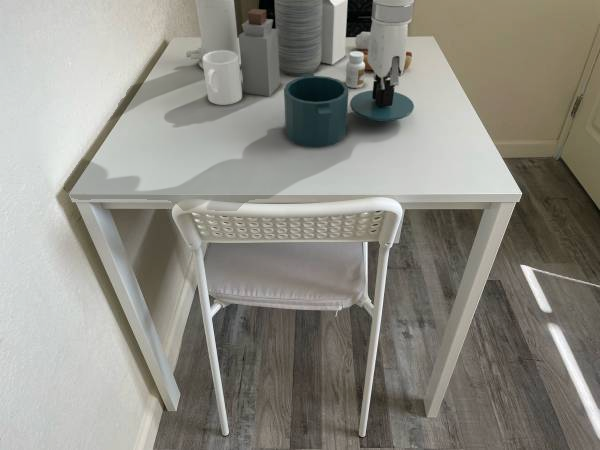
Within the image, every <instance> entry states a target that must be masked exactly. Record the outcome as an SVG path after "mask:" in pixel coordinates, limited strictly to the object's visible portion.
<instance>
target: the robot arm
mask: <svg viewBox="0 0 600 450" xmlns="http://www.w3.org/2000/svg"><path fill="white" fill-rule="evenodd" d="M194 1H195V6H196V14H197V20H198V27H199V34H200V40H201V45H200V47H197V48H196V49H194V48H193V49H191V48H190V49H185V54H186V58H190V59H191V60H198V65H199V67H200V68H201V69H202V70H204V68H203V61H202V58H203V56H204V55H205V54H207V53H209V52H213V51H218V50H227V51H232V52H235V53H236V54H237V55H238V56H239V66H240V68H242V67H241V57H240V47H239V37H238V30H237V19H236V8H235V0H194ZM414 3H415V0H372V10H371V21H372V22H371V26H370V31H369V32H370V39H369V47H368V49H367V51H368V55H367V61H368V63H369V65H370V66H371V68H372V69H373V70H372V71H373V80H374V81H373V85H372V90H373V93H372V98H373V99H374V100H375V99H376V91H377V83H378V82H379V81H381V88H379V91H378V100H377V106H378V107H386V106H392V103H393V95H394V92H395V89H396V86H398V85H399V84H400V83H399V81H400V77H402V75H403V74H404V71H405V70H404V64H405V57H406V52H407V45H408V33H409V31H408V29H409V24H410V23H411V22H412V19H413V12H414V5H415V4H414ZM385 81H386V82H385Z"/></svg>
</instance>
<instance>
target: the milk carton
mask: <svg viewBox="0 0 600 450" xmlns="http://www.w3.org/2000/svg"><path fill="white" fill-rule="evenodd" d="M348 1H349V0H323V5H322V48H321V62H320V63H324V64H328V65H335V64H336V63H337V62H339V61H340V60H341V59H343V58H344V57H345V55H346V52H345V51H346V38H347V37H346V36H347V19H348Z"/></svg>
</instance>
